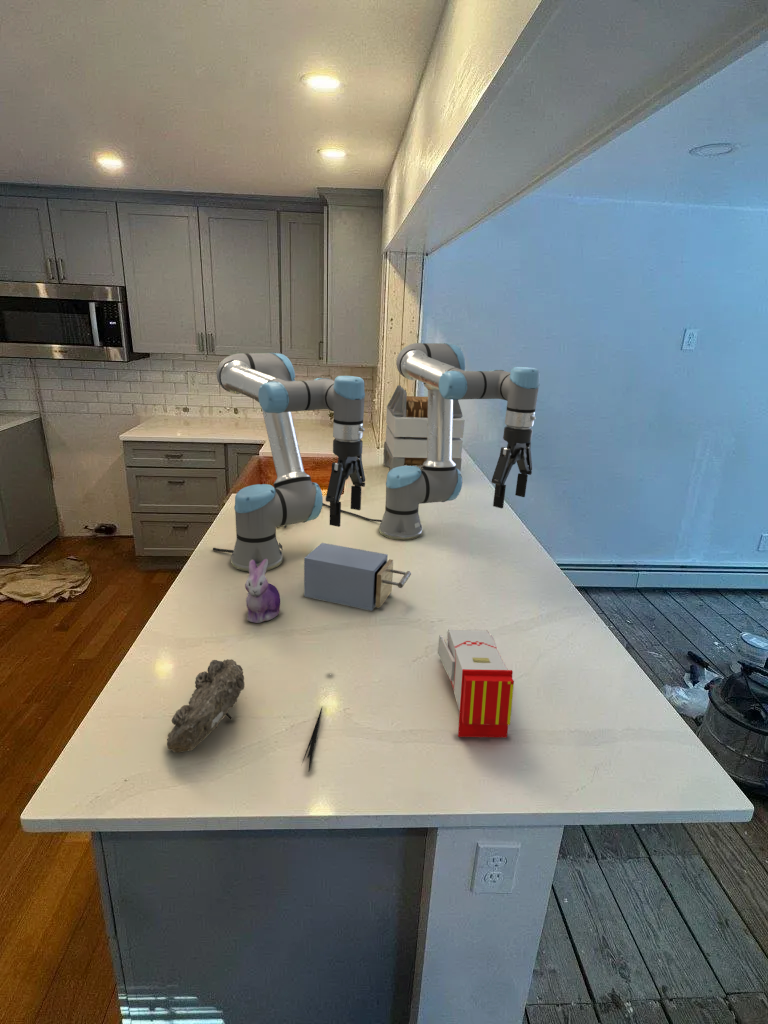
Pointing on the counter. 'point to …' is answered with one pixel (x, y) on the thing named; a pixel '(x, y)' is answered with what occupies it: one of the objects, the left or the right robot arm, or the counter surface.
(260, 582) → the figurine
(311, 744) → the feather
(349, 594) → the cabinet
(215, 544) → the counter surface
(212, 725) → the fossil
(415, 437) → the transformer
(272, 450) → the left robot arm
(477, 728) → the toy
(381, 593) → the drawer
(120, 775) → the counter surface
